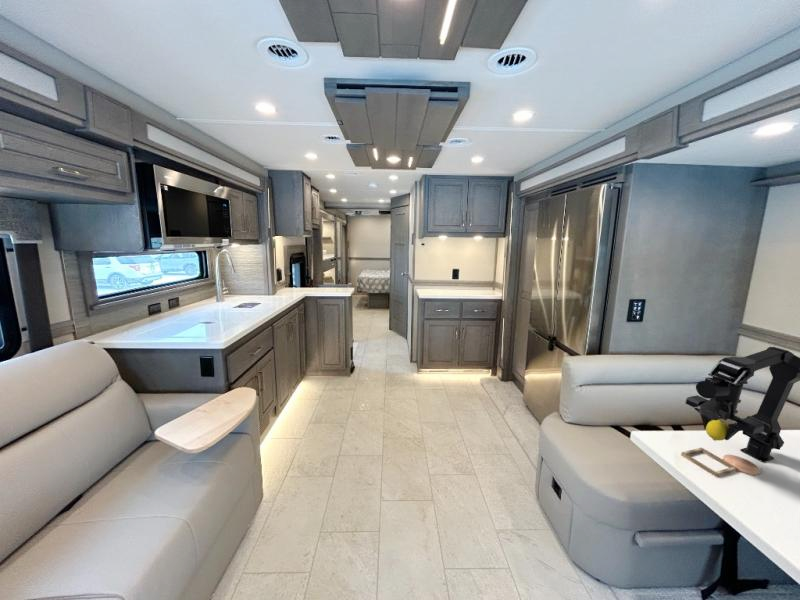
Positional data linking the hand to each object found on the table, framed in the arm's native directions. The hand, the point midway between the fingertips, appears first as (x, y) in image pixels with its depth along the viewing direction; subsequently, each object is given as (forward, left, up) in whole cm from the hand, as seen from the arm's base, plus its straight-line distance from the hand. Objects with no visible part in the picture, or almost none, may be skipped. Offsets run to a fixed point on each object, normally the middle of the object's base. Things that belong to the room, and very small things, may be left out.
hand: (716, 434), depth 108 cm
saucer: (-10, +4, -12) cm, 16 cm away
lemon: (0, 0, -2) cm, 3 cm away
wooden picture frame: (0, 0, -12) cm, 12 cm away
